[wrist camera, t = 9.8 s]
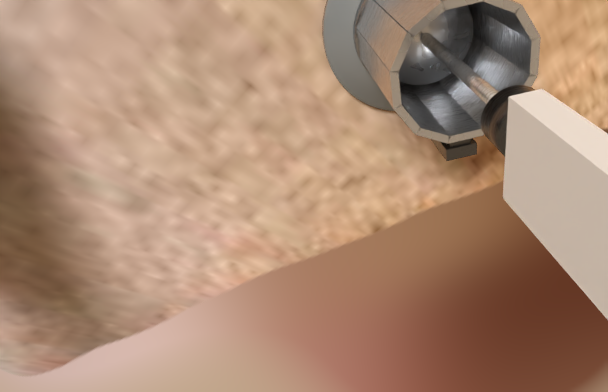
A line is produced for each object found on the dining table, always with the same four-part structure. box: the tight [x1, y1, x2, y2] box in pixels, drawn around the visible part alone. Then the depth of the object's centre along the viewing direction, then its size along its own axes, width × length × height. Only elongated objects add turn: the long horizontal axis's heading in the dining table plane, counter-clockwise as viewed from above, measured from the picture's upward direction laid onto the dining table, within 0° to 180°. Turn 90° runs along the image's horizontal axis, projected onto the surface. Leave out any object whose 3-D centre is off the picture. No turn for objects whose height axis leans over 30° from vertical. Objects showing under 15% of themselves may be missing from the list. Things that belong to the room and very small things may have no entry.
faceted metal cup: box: [353, 0, 540, 161], centre depth 40 cm, size 11×13×12 cm
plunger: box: [399, 5, 535, 156], centre depth 35 cm, size 8×8×19 cm
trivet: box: [322, 0, 395, 111], centre depth 45 cm, size 16×16×1 cm
